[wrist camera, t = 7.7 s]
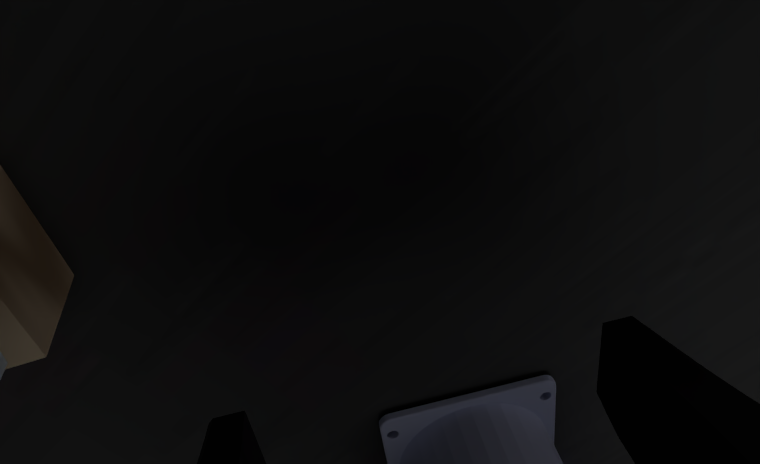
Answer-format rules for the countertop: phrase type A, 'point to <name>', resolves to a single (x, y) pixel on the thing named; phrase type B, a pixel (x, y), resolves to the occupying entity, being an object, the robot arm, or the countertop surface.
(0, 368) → the blue-grey cube
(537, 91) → the countertop surface
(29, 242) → the oak block
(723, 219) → the countertop surface
